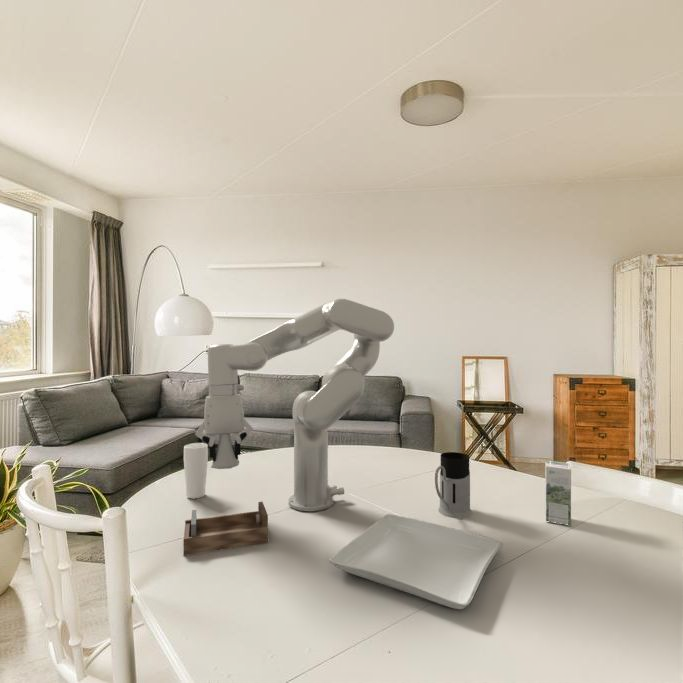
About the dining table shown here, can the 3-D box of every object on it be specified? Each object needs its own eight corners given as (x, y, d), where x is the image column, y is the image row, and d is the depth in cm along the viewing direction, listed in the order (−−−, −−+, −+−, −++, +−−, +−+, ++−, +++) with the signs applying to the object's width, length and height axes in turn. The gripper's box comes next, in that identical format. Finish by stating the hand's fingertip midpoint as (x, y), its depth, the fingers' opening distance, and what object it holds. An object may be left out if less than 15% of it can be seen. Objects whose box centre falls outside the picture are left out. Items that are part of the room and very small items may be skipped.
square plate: (468, 628, 68) (467, 603, 68) (326, 578, 82) (326, 558, 82) (503, 555, 91) (503, 537, 91) (387, 526, 105) (387, 511, 105)
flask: (232, 470, 108) (230, 431, 108) (206, 469, 110) (205, 431, 110) (244, 462, 115) (243, 425, 115) (219, 461, 117) (218, 425, 117)
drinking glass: (178, 498, 123) (178, 447, 123) (194, 491, 130) (194, 441, 130) (197, 501, 121) (197, 449, 121) (212, 493, 127) (212, 443, 127)
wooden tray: (262, 524, 106) (262, 500, 106) (268, 543, 96) (268, 516, 96) (185, 534, 100) (185, 509, 100) (183, 555, 90) (183, 527, 90)
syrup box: (569, 518, 109) (569, 462, 110) (571, 527, 104) (571, 468, 104) (545, 514, 112) (545, 459, 112) (545, 523, 107) (545, 465, 107)
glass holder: (477, 511, 114) (477, 455, 114) (451, 527, 104) (451, 466, 104) (448, 502, 120) (448, 449, 120) (421, 517, 110) (420, 460, 110)
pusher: (196, 529, 100) (196, 509, 100) (195, 545, 92) (195, 524, 92) (191, 530, 100) (191, 510, 100) (191, 546, 92) (191, 524, 92)
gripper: (254, 387, 119) (256, 452, 119) (189, 391, 113) (191, 459, 113) (257, 390, 111) (259, 459, 111) (188, 394, 106) (190, 466, 106)
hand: (225, 458), depth 112 cm, fingers closed on flask, 5 cm apart
